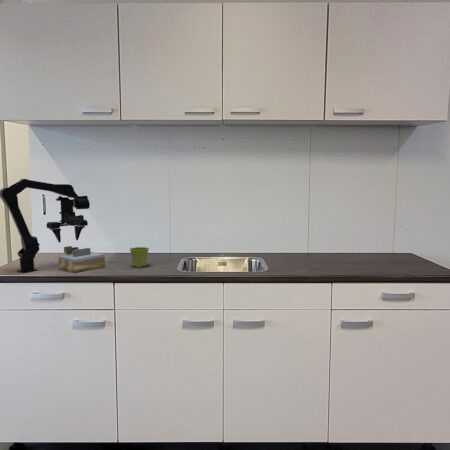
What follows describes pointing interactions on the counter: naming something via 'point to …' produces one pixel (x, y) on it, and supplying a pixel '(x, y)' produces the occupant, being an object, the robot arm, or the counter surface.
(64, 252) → the beige long block
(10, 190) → the robot arm
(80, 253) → the lid
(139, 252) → the plant pot
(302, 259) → the counter surface
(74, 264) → the toolbox
